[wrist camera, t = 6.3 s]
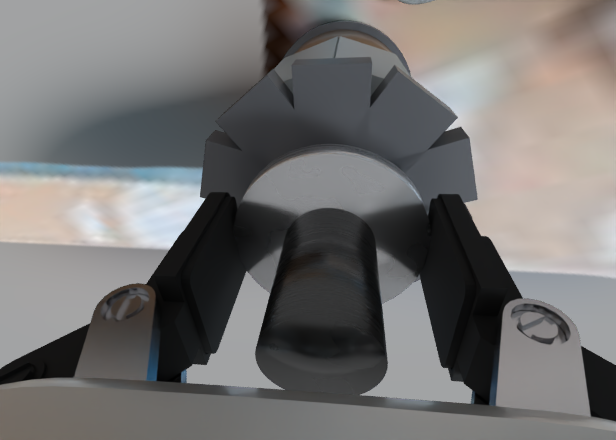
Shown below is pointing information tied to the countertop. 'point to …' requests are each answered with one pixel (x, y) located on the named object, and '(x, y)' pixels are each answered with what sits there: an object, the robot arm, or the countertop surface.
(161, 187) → the countertop surface
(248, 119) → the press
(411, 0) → the ceramic mug
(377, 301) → the plunger
